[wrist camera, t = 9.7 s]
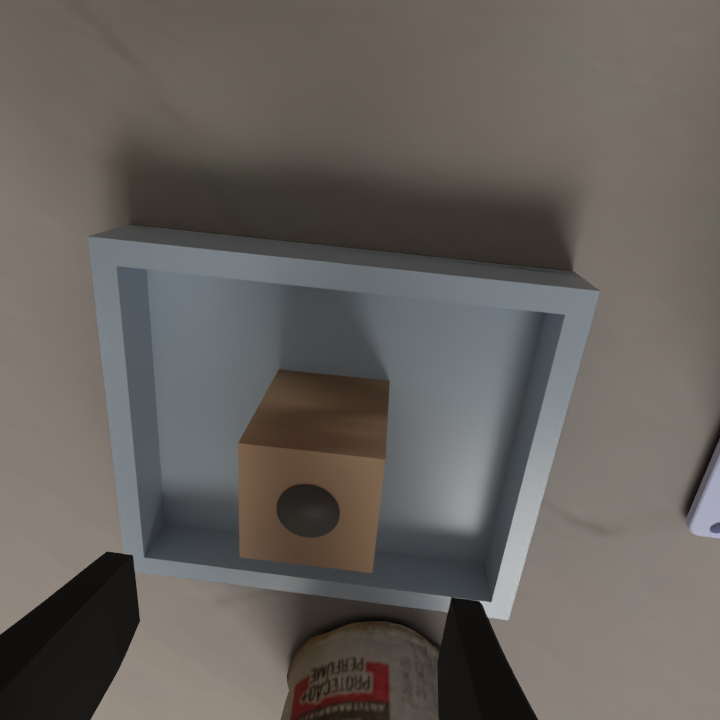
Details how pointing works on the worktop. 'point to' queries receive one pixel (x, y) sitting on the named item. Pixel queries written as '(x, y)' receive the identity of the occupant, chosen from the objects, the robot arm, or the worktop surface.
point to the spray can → (364, 675)
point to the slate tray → (343, 358)
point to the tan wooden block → (314, 471)
